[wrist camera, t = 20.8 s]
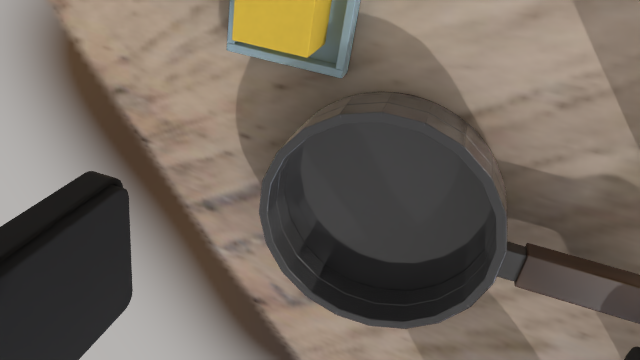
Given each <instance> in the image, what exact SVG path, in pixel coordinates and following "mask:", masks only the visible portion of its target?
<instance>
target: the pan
mask: <svg viewBox="0 0 640 360" xmlns="http://www.w3.org/2000/svg"><path fill="white" fill-rule="evenodd" d="M259 215H260V219H261V224H262V228H263V232H264V237H265V241H266V244H267V246H268V248H269V250H270V251H271V253H272V255H273V257H274V258H275V260H276V262H277V264H278V265H279V267H280V269H281V271H282V272H283V273H284V274H285V275H286V276H287V277H288V278H289V279H290V281H291V282H292V283H293V284H294V285H295V286H296V287H297V288H298V289H299V290H300V291H301V292H302V293H303V294H304V295H305V296H307V297H308V298H310V299H311V300H313V301H314V302H316V303H318V304H319V305H321V306H323V307H324V308H326V309H328V310H329V311H331V312H332V313H334V314H337V315H338V316H341V317H344V318H347V319H350V320H353V321H356V322H359V323H363V324H366V325H370V326H377V327H389V328H401V329H408V328H413V327H419V326H425V325H430V324H436V323H439V322H442V321H444V320H446V319H448V318H450V317H452V316H454V315H456V314H458V313H460V312H462V311H464V310H466V309H468V308H469V307H471V306H472V305H473V304H474V303H475V302H476V301H477V300H478V299H479V298H480V297H481V296H482V295H483V294H484V293H485V292H486V291H487V290H488V289H489V287H490V286H491V285H492V284H493V283H494V281H495V279H496V277H497V274H498V272H499V269H500V267H501V265H502V262H503V260H504V258H505V255H506V253H507V203H506V189H505V185H504V182H503V178H502V175H501V172H500V169H499V166H498V164H497V162H496V160H495V158H494V156H493V154H492V152H491V150H490V149H489V147H488V146H487V145H486V143H485V142H484V140H483V139H482V138H481V137H480V135H479V134H478V133H477V132H476V131H475V130H474V129H473V128H472V127H471V126H470V125H469V124H467V123H466V122H465V121H464V120H463V119H461V118H460V117H459V116H457V115H456V114H454V113H453V112H451V111H449V110H448V109H446V108H445V107H442V106H440V105H438V104H436V103H434V102H431V101H429V100H426V99H423V98H420V97H416V96H413V95H408V94H402V93H395V92H372V93H363V94H358V95H354V96H349V97H347V98H344V99H341V100H338V101H336V102H334V103H332V104H330V105H328V106H326V107H324V108H323V109H321V110H319V111H318V112H317V113H316V114H314V115H313V116H312V117H311V118H310V119H309V120H308V121H307V122H306V123H304V124H303V125H302V126H301V127H300V128H299V129H298V130H297V131H296V132H295V133H294V134H293V135H292V136H291V137H290V138H289V139H288V141H287V142H286V143H285V144H284V145H283V146H282V147H281V148H280V149H279V150H278V152H277V153H276V155H275V157H274V159H273V161H272V163H271V165H270V167H269V169H268V171H267V173H266V175H265V177H264V179H263V181H262V189H261V199H260V208H259Z"/></svg>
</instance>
